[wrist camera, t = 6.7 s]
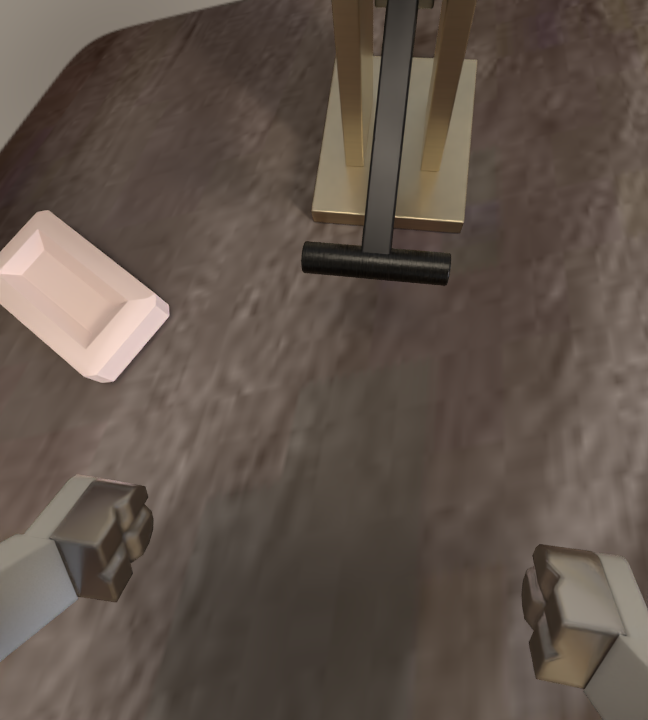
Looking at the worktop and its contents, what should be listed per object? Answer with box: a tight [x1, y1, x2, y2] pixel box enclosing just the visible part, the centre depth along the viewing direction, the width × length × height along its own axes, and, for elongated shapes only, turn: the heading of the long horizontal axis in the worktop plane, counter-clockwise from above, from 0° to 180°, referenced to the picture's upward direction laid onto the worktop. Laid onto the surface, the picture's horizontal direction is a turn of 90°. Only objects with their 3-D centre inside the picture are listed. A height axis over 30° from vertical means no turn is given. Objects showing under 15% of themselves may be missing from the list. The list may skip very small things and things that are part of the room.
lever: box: [301, 0, 451, 286], centre depth 18 cm, size 13×6×2 cm, turn 172°
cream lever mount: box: [311, 0, 477, 233], centre depth 22 cm, size 10×8×13 cm
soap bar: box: [0, 210, 169, 383], centre depth 26 cm, size 5×9×2 cm, turn 52°
